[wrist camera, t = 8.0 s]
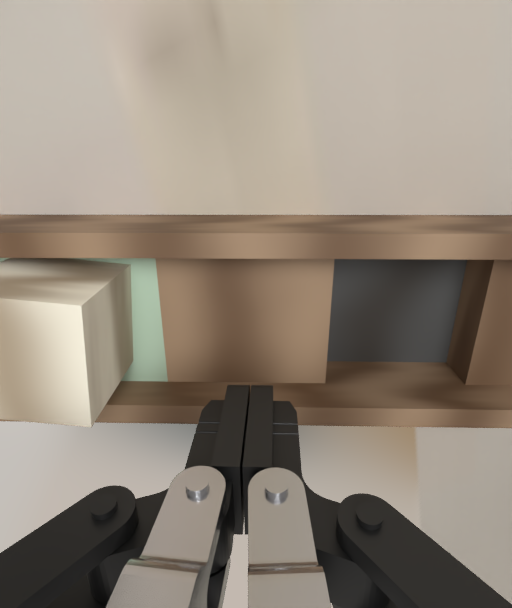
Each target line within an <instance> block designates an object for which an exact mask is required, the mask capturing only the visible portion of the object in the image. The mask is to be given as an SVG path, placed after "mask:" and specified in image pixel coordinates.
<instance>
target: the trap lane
mask: <svg viewBox="0 0 512 608" xmlns="http://www.w3.org/2000/svg"><path fill="white" fill-rule="evenodd" d="M9 258H68V259H79V260H89V261H100V262H110V263H121V264H131V296H132V328H133V362H132V364H131V365H130V367H129V369H128V370H127V372H126V373H125V375H124V377H123V378H122V380H121V381H120V383H119V384H118V386H117V388H116V389H115V391H114V392H113V394H112V396H111V397H110V399H109V400H108V402H107V403H106V405H105V407H104V408H103V410H102V411H101V413H100V415H99V416H98V418H97V419H96V421H95V422H107V423H181V424H185V423H186V424H198V423H199V418H200V415H201V411H202V409H203V408H204V407H205V406H206V405H207V404H208V403H209V402H210V401H211V400H224V399H225V394H226V390H227V386H228V385H250V393H251V385H273V401H290V403H291V404H292V405H293V407H294V408H295V410H296V411H297V421H298V425H324V426H326V425H327V426H396V427H397V426H399V427H468V428H512V215H0V262H2V261H4V260H6V259H9ZM0 421H15V420H4V419H0Z"/></svg>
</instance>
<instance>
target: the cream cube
mask: <svg viewBox="0 0 512 608" xmlns="http://www.w3.org/2000/svg"><path fill="white" fill-rule="evenodd" d="M132 362H133V328H132V296H131V264H121V263H110V262H100V261H89V260H79V259H68V258H9V259H6V260H4V261H2V262H0V419H4V420H15V421H27V422H38V423H50V424H61V425H71V426H82V427H92V426H93V424H94V422H95V421H96V419H97V418H98V416H99V415H100V413H101V411H102V410H103V408H104V407H105V405H106V403H107V402H108V400H109V399H110V397H111V396H112V394H113V392H114V391H115V389H116V388H117V386H118V384H119V383H120V381H121V380H122V378H123V377H124V375H125V373H126V372H127V370H128V369H129V367H130V365H131V364H132Z"/></svg>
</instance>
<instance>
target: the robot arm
mask: <svg viewBox="0 0 512 608" xmlns="http://www.w3.org/2000/svg"><path fill="white" fill-rule="evenodd" d="M244 519H245V534H248V546H249V547H248V552H249V553H248V555H249V556H248V557H249V558H248V561H249V566H248V608H331V604H330V603H332V605H333V608H512V604H510V603H509V602H508V601H507V600H505V599H504V598H503V597H502V596H501V595H499V594H498V593H497V592H496V591H495V590H493V589H492V588H491V587H490V586H488V585H487V584H486V583H485V582H484V581H482V580H481V579H480V578H479V577H477V576H476V575H475V574H474V573H473V572H471V571H470V570H469V569H468V568H466V567H465V566H464V565H463V564H462V563H460V562H459V561H458V560H457V559H455V558H454V557H453V556H452V555H451V554H449V553H448V552H447V551H446V550H445V549H443V548H442V547H441V546H440V545H438V544H437V543H436V542H435V541H434V540H432V539H431V538H430V537H429V536H427V535H426V534H425V533H424V532H423V531H421V530H420V529H419V528H418V527H416V526H415V525H414V524H413V523H411V522H410V521H409V520H408V519H407V518H405V517H404V516H403V515H402V514H401V513H399V512H398V511H397V510H396V509H395V508H393V507H392V506H391V505H390V504H388V503H387V502H386V501H384V500H382V499H381V498H379V497H376V496H373V495H370V494H354V495H351V496H349V497H347V498H345V499H344V500H343V501H342V502H341V503H338V502H335V501H332V500H328V499H326V498H323V497H321V496H319V495H317V494H316V493H314V492H313V491H312V490H311V489H309V487H308V486H307V485H306V483H305V482H304V480H303V478H302V473H301V460H300V447H299V435H298V421H297V411H296V410H295V408H294V407H293V405H292V404H291V403H290V401H273V385H251V393H250V385H228V386H227V390H226V394H225V399H224V400H211V401H210V402H209V403H208V404H207V405H206V406H205V407H204V408H203V409H202V411H201V415H200V418H199V423H198V425H197V428H196V433H195V435H194V439H193V442H192V446H191V449H190V453H189V456H188V460H187V463H186V467H185V470H184V471H182V472H181V473H179V474H178V475H177V476H176V477H175V478H174V480H173V481H172V483H171V485H170V487H169V488H168V489H166V490H165V491H162V492H160V493H157V494H154V495H150V496H145V497H142V498H138V499H135V497H134V494H133V493H132V492H131V491H130V490H129V489H127V488H125V487H122V486H108V487H103V488H100V489H98V490H96V491H94V492H92V493H90V494H89V495H87V496H86V497H84V498H83V499H81V500H80V501H78V502H77V503H75V504H74V505H72V506H71V507H69V508H68V509H66V510H65V511H63V512H62V513H60V514H59V515H57V516H56V517H54V518H53V519H51V520H50V521H48V522H47V523H45V524H44V525H42V526H41V527H39V528H38V529H36V530H35V531H33V532H32V533H30V534H29V535H27V536H25V537H24V538H22V539H21V540H19V541H18V542H16V543H15V544H14V545H12V546H10V547H9V548H7V549H6V550H4V551H3V552H1V553H0V608H222V605H223V600H224V595H225V589H226V583H227V579H228V573H229V568H230V555H231V551H232V543H233V535H234V534H243V523H244Z"/></svg>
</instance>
